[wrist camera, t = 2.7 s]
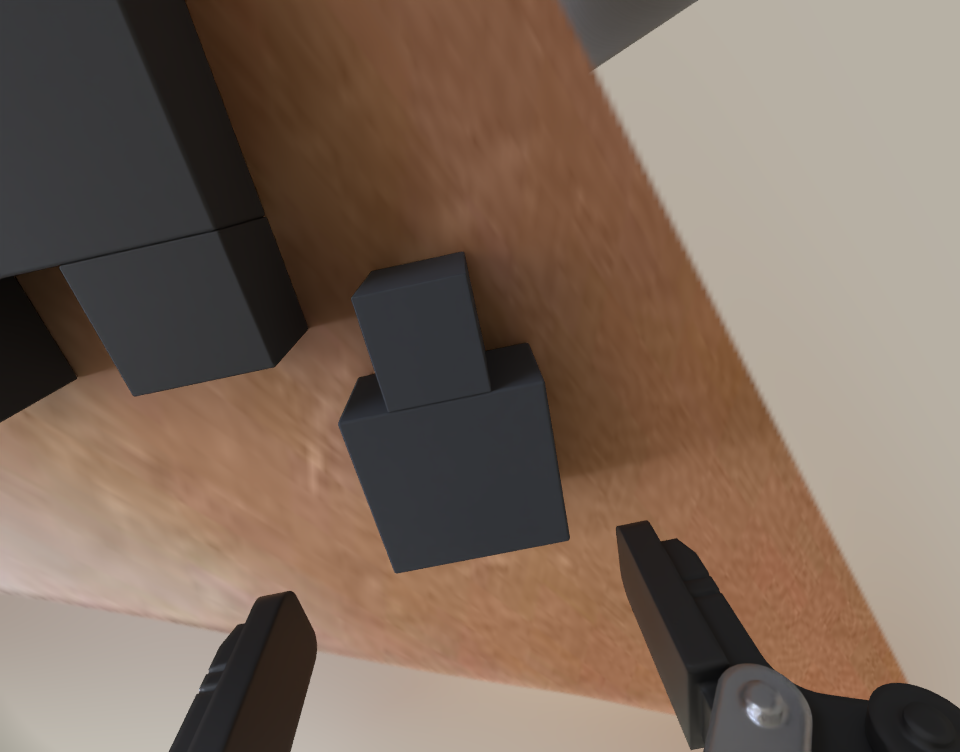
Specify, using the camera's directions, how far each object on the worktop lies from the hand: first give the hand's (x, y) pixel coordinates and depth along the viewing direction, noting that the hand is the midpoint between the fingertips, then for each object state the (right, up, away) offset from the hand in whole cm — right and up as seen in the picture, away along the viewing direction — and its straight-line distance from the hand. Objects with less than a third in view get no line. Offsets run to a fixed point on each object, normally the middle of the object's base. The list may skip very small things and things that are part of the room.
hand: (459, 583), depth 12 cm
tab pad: (-1, +4, +5) cm, 7 cm away
